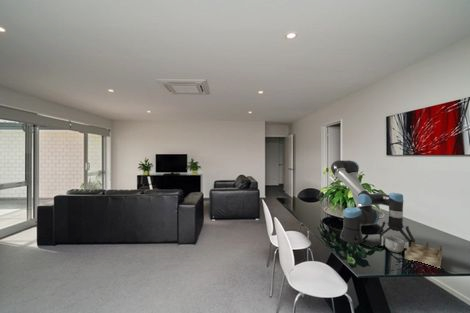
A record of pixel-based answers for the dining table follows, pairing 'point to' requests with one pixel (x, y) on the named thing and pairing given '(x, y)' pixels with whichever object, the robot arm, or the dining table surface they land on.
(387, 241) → the teacup
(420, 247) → the rack
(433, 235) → the dining table surface
